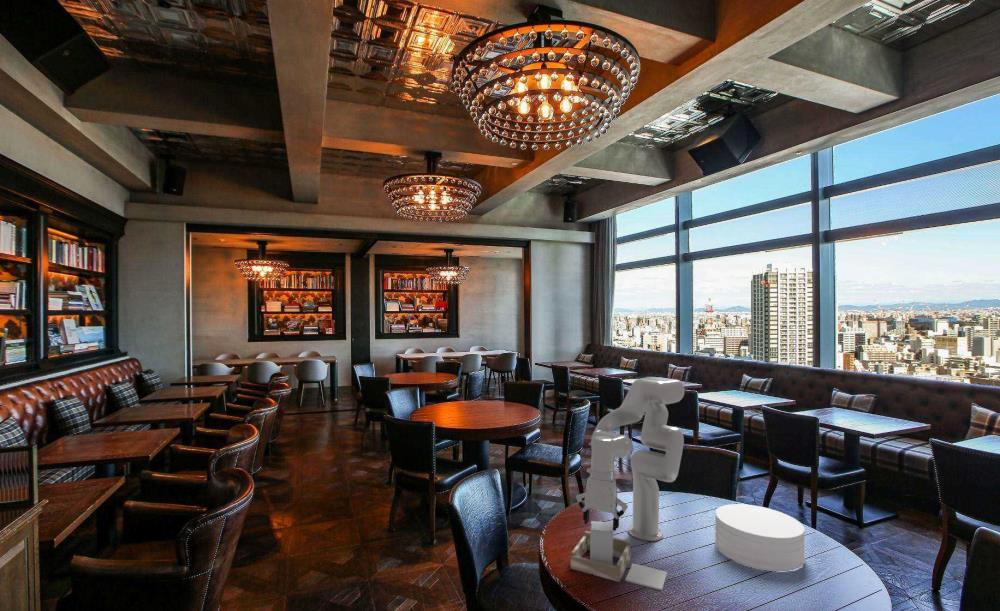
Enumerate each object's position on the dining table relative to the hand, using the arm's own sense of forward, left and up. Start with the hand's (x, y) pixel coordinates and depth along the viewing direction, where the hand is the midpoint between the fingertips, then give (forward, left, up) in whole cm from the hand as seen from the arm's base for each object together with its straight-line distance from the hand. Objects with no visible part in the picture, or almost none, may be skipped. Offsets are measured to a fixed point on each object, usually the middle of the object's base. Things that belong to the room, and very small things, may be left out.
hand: (600, 526), depth 160 cm
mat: (0, +15, -13) cm, 20 cm away
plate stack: (-37, +47, -13) cm, 61 cm away
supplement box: (-1, 0, -13) cm, 13 cm away
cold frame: (-1, 0, -13) cm, 13 cm away
